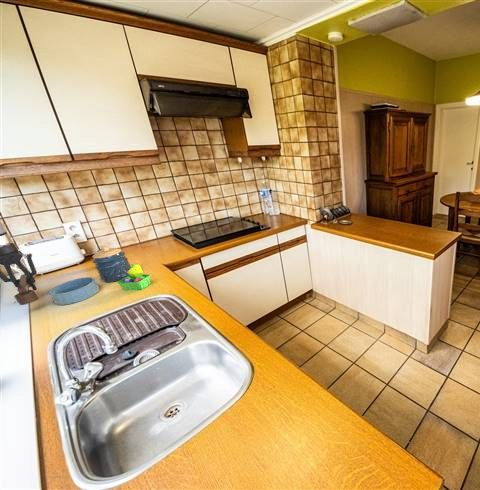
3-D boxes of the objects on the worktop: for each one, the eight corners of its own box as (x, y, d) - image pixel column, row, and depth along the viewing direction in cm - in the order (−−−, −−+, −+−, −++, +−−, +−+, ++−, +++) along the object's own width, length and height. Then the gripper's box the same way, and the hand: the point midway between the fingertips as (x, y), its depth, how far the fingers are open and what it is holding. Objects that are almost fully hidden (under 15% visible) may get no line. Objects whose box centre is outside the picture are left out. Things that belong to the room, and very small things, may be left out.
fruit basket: (120, 291, 129) (110, 271, 124) (135, 282, 137) (126, 262, 132) (142, 291, 128) (133, 271, 124) (156, 281, 136) (148, 262, 132)
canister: (129, 268, 152) (116, 240, 145) (137, 274, 145) (123, 244, 138) (99, 278, 142) (83, 249, 135) (106, 285, 135) (90, 254, 128)
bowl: (55, 297, 127) (48, 287, 124) (98, 284, 137) (92, 274, 135) (55, 309, 117) (48, 298, 115) (101, 294, 128) (95, 283, 125)
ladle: (22, 287, 128) (15, 276, 126) (40, 282, 132) (33, 271, 129) (19, 306, 113) (10, 294, 110) (38, 300, 117) (30, 288, 114)
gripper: (-32, 253, 108) (4, 301, 117) (26, 241, 118) (54, 286, 127) (-28, 249, 112) (5, 295, 122) (27, 237, 123) (54, 281, 132)
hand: (30, 290), depth 125 cm, fingers closed on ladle, 2 cm apart
